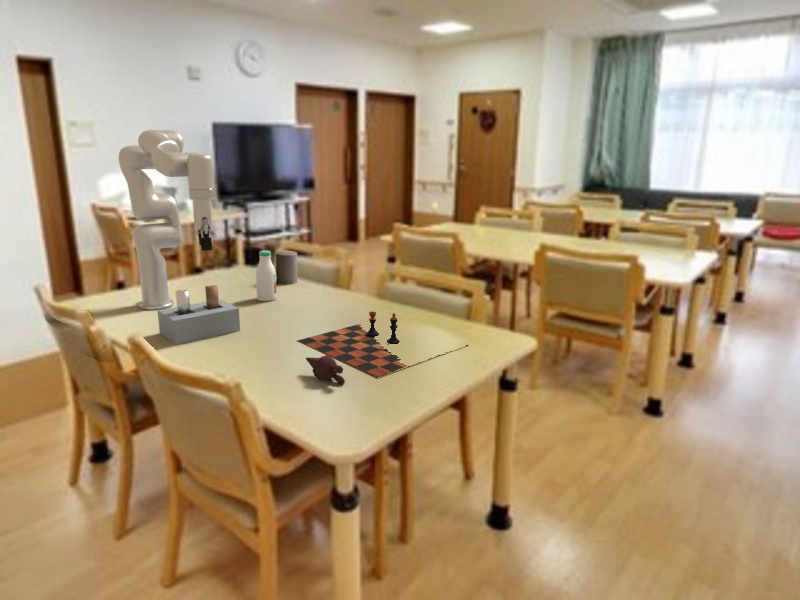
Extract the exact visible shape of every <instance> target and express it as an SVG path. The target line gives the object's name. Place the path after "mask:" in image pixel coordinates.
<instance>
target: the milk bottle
mask: <svg viewBox="0 0 800 600" xmlns="http://www.w3.org/2000/svg"><path fill="white" fill-rule="evenodd" d="M258 255H259V260H258V262H259V263H258V264H257V268H256V270H255V274H256V275H255V276H256V278H255V280H256V281H255V282H256V298H257V300H258V301H260V302H271V301H274V300H276V299H277V282H276V267H275V266H274V265H273V262H272V258H271V257H272V252H271V251H270V250H266V249H265V250H260V251H259V252H258Z"/></svg>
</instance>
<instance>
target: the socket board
mask: <svg viewBox="0 0 800 600" xmlns="http://www.w3.org/2000/svg"><path fill="white" fill-rule="evenodd" d="M190 312H191V313H190V314H185V315H180V316H179V315H178V313H177V306H175V307H168V308H163V309H157V319H158V329H159V334H160V335H161V336H163V337H165V338H166V339H167V340H169V341H170V342H172V343H173V344H175V346H177V345H182V344H186V343H190V342H191V343H192V342H194V341H199V340H205V339H208V338H213V337H218V336H223V335H227V334H231V332H232V333H236V332H239V331H241V327H240V326H241V324H240V308H239V307H237V306H235V305H233V304H231V303H229V302H227V301H224V300H222V299H221V298H220V299H219V308H217V309H211V310H208V309H207V304H206V301H204V302H198V303H193V304H191V303H190ZM226 333H227V334H226Z"/></svg>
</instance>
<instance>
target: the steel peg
mask: <svg viewBox="0 0 800 600" xmlns="http://www.w3.org/2000/svg"><path fill="white" fill-rule="evenodd" d="M175 299H176V300H175V301H176V307H177V313H178V315H179V316H180V315H185V314H190V313H191V312H190V305H191V302H190V291H189V290H188V289H187V290H186V289H181V290H180V289H179V290H177V291H175Z"/></svg>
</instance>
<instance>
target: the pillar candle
mask: <svg viewBox="0 0 800 600" xmlns="http://www.w3.org/2000/svg"><path fill="white" fill-rule="evenodd" d="M275 275H276V284H279V283H281V285H287V284H286V283H294V282H296V283H298V252H297V251H293V250H279V251H276V252H275ZM294 284H295V283H294Z"/></svg>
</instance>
